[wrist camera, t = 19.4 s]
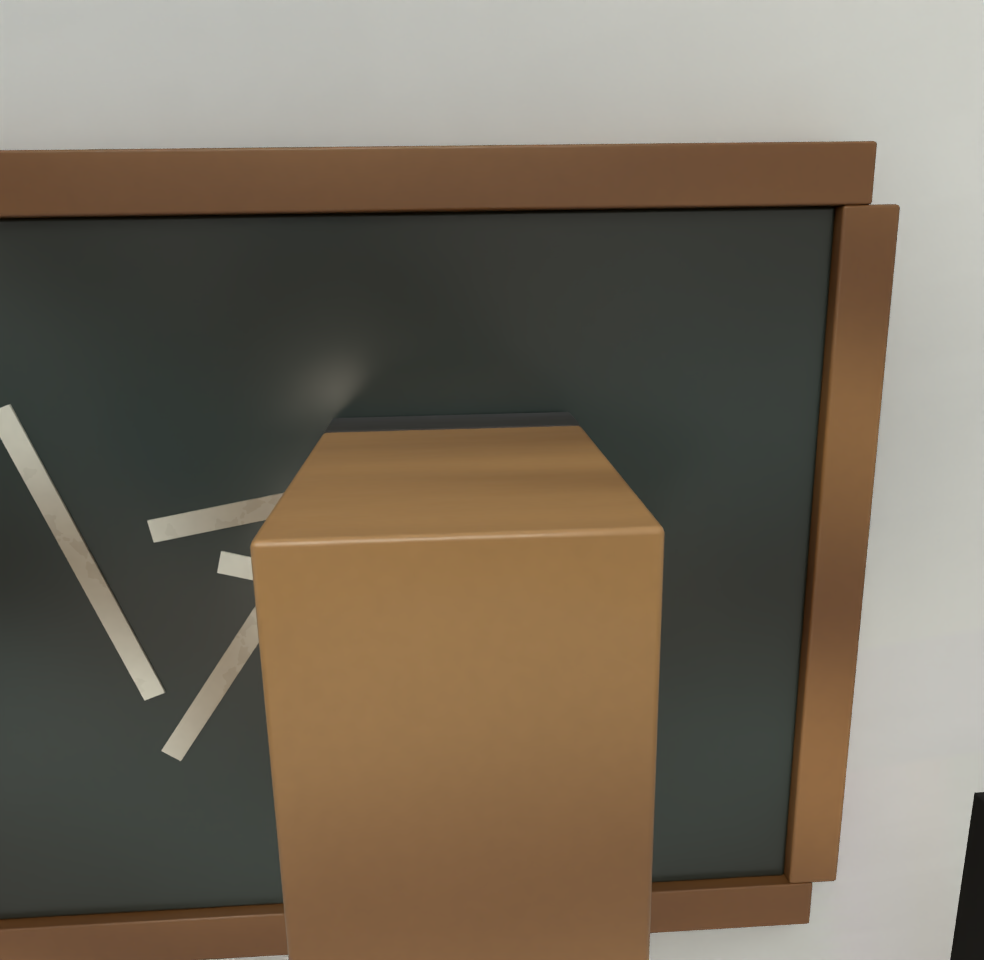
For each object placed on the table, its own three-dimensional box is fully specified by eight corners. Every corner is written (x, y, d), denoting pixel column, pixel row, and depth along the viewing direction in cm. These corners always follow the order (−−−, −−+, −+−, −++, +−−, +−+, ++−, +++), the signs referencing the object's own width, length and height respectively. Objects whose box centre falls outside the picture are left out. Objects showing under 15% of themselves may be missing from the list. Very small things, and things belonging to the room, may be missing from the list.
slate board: (-532, 165, 17) (-623, 156, 15) (870, 150, 18) (908, 140, 17) (-303, 944, 21) (-357, 994, 20) (808, 881, 23) (832, 922, 21)
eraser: (332, 417, 18) (247, 541, 10) (570, 411, 18) (666, 528, 10) (358, 831, 20) (308, 1184, 13) (567, 821, 21) (643, 1159, 13)
